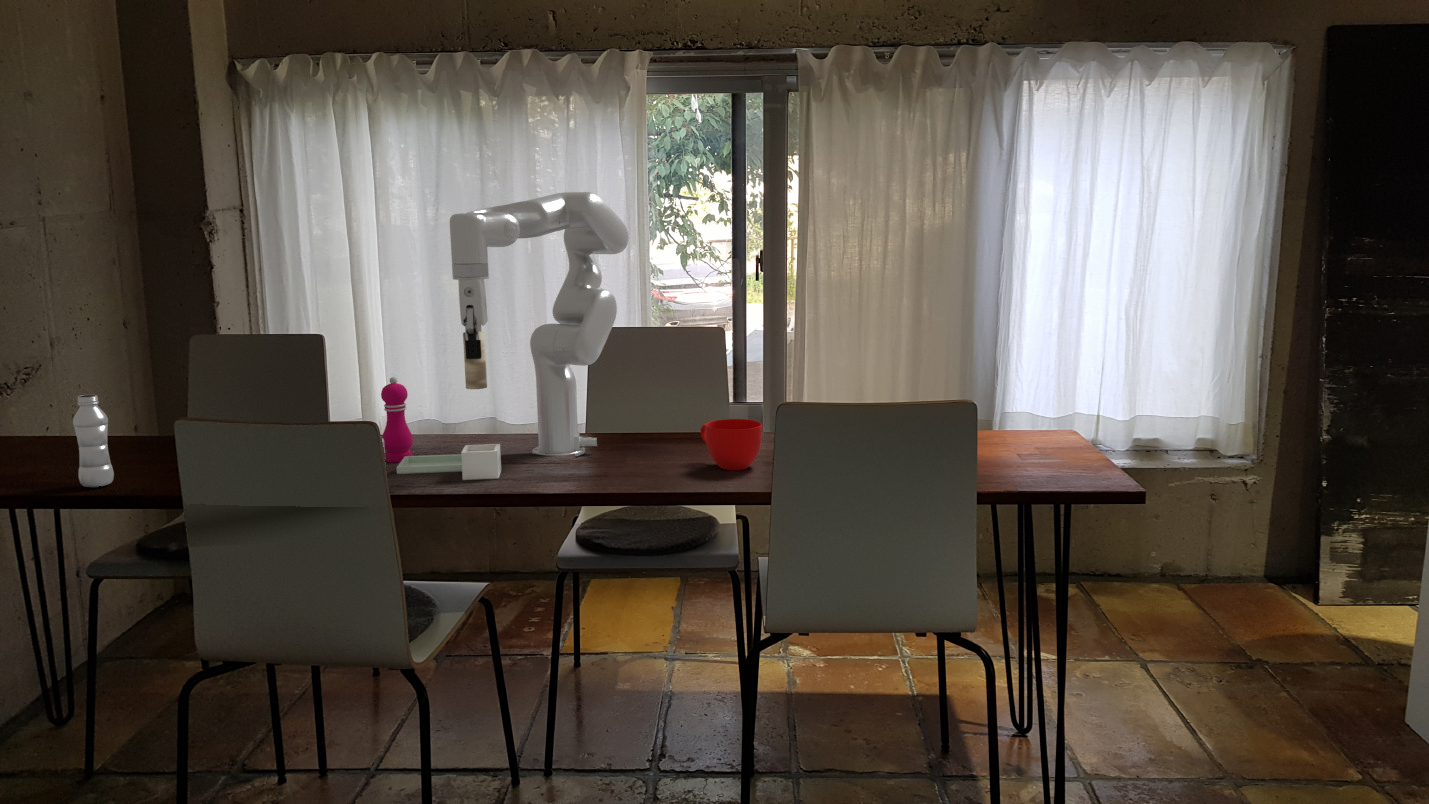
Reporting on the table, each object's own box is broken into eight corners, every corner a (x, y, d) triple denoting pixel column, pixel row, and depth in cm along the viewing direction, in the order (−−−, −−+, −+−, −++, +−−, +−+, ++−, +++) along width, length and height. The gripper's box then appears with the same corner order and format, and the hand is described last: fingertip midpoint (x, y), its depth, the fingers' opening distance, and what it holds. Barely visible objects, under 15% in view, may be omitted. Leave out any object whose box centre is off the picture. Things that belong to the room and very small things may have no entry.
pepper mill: (405, 463, 246) (399, 379, 243) (377, 462, 248) (371, 378, 244) (419, 456, 253) (414, 375, 250) (392, 455, 255) (386, 374, 251)
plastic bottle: (88, 483, 231) (78, 393, 227) (120, 482, 231) (110, 393, 228) (73, 490, 225) (62, 398, 221) (106, 489, 225) (96, 398, 222)
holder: (501, 474, 235) (500, 443, 234) (498, 482, 227) (497, 451, 226) (466, 475, 234) (465, 445, 233) (462, 484, 226) (461, 452, 225)
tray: (475, 464, 245) (475, 453, 244) (470, 475, 234) (470, 464, 234) (405, 466, 243) (405, 456, 243) (397, 478, 232) (396, 467, 232)
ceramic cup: (721, 455, 251) (721, 414, 249) (774, 466, 239) (774, 423, 238) (682, 464, 242) (681, 422, 240) (734, 476, 230) (734, 432, 229)
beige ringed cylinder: (487, 385, 230) (485, 331, 228) (486, 388, 225) (483, 333, 223) (467, 386, 229) (464, 331, 227) (464, 389, 225) (461, 334, 223)
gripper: (485, 273, 215) (489, 361, 218) (491, 269, 232) (495, 351, 235) (447, 274, 214) (452, 363, 217) (456, 270, 231) (461, 352, 234)
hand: (474, 356), depth 226 cm, fingers closed on beige ringed cylinder, 4 cm apart
